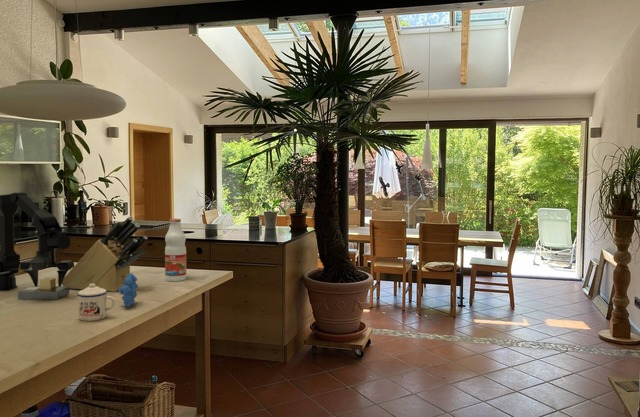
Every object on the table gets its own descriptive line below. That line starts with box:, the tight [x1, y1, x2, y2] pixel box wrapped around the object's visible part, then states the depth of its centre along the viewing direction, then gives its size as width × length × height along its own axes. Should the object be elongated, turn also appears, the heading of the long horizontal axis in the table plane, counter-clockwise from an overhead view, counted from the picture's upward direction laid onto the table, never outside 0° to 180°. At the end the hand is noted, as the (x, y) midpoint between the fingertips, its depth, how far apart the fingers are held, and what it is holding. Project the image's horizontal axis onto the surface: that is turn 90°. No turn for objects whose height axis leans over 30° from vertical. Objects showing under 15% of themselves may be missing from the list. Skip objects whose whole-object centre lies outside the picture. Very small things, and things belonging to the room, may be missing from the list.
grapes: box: [117, 272, 139, 308], centre depth 189 cm, size 12×7×12 cm, turn 3°
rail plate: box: [17, 285, 71, 301], centre depth 202 cm, size 15×10×3 cm, turn 91°
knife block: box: [61, 215, 148, 293], centre depth 215 cm, size 11×35×31 cm, turn 78°
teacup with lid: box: [77, 284, 116, 322], centre depth 174 cm, size 12×9×12 cm
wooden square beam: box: [39, 277, 57, 291], centre depth 202 cm, size 4×4×7 cm
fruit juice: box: [164, 218, 187, 282], centre depth 233 cm, size 9×9×28 cm
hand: (48, 286), depth 202 cm, fingers open, 9 cm apart
